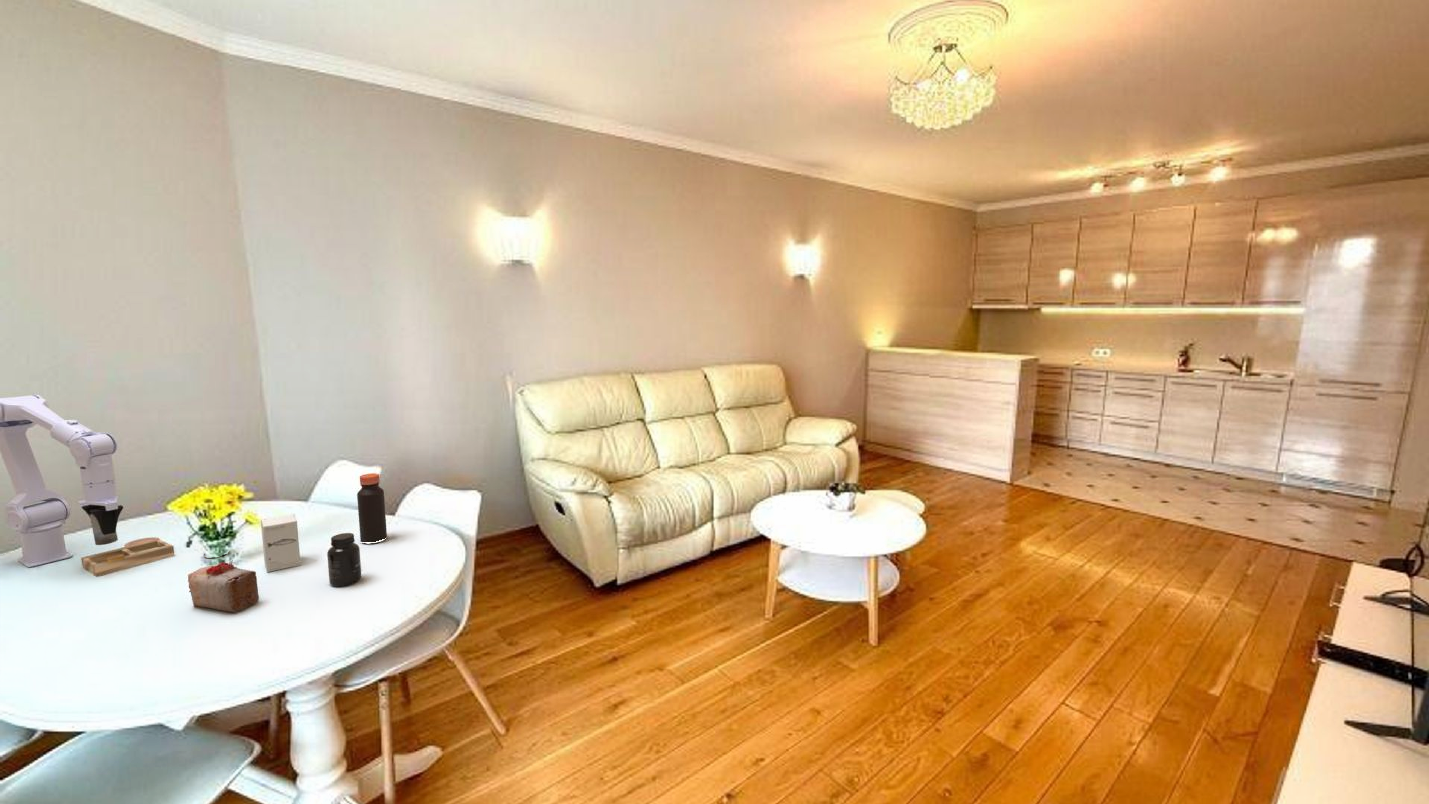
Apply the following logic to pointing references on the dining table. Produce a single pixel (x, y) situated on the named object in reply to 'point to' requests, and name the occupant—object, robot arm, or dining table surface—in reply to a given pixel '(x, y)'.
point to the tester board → (127, 557)
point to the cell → (98, 535)
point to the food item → (223, 587)
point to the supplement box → (280, 542)
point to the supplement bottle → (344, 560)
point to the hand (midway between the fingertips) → (106, 531)
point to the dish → (139, 541)
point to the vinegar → (371, 509)
